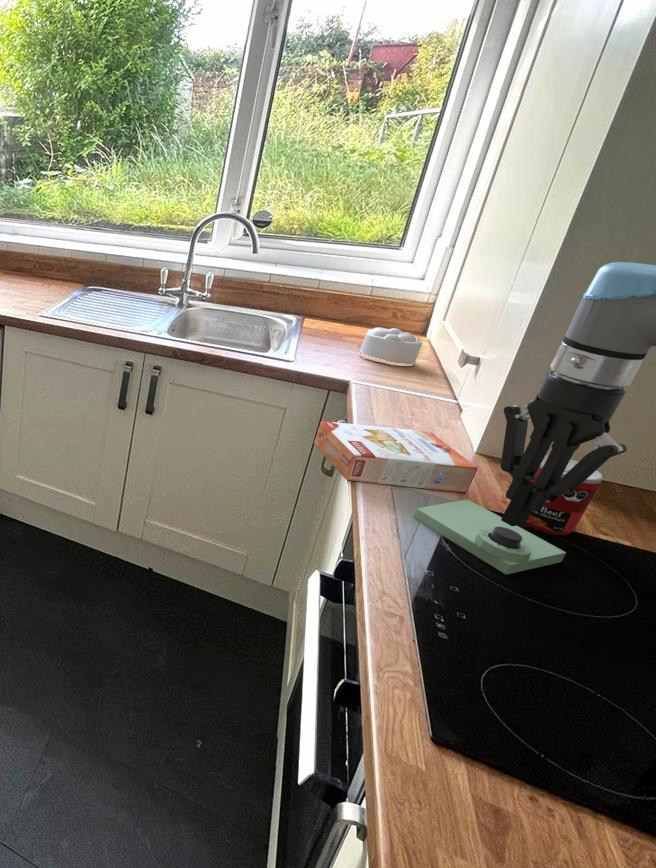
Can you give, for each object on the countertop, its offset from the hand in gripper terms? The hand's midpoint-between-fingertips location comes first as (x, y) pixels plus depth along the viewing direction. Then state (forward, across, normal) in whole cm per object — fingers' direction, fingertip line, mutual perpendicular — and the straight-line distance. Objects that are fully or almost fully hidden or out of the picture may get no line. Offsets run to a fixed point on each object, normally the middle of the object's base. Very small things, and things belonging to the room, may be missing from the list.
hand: (512, 522), depth 87 cm
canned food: (+7, -5, +19) cm, 21 cm away
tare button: (+4, 0, 0) cm, 4 cm away
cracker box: (+4, -20, +18) cm, 27 cm away
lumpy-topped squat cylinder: (+7, -71, +67) cm, 98 cm away
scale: (+7, -4, +4) cm, 9 cm away
